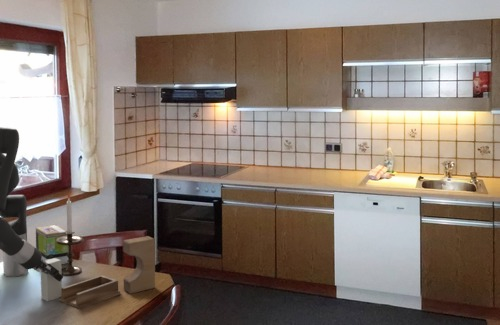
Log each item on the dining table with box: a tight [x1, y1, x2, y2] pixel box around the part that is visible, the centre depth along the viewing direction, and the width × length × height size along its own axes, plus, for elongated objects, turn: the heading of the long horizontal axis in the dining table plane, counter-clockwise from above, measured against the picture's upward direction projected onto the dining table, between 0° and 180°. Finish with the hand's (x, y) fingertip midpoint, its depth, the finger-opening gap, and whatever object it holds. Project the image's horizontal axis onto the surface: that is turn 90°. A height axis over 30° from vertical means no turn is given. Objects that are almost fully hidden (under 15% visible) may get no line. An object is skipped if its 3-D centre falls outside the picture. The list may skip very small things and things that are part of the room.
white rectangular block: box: [40, 258, 63, 302], centre depth 196 cm, size 4×6×14 cm, turn 144°
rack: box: [59, 274, 121, 310], centre depth 198 cm, size 12×18×5 cm, turn 144°
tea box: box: [35, 224, 69, 265], centre depth 238 cm, size 15×10×15 cm, turn 39°
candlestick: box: [56, 190, 84, 277], centre depth 222 cm, size 11×11×35 cm
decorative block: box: [122, 235, 156, 295], centre depth 206 cm, size 11×6×20 cm, turn 127°
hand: (54, 276), depth 198 cm, fingers open, 7 cm apart
